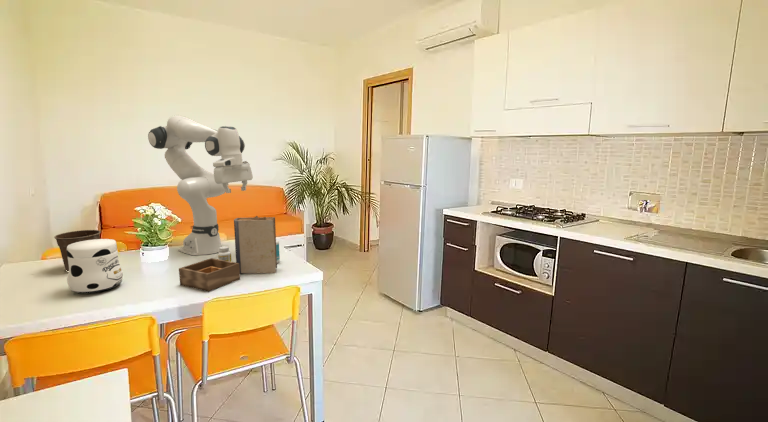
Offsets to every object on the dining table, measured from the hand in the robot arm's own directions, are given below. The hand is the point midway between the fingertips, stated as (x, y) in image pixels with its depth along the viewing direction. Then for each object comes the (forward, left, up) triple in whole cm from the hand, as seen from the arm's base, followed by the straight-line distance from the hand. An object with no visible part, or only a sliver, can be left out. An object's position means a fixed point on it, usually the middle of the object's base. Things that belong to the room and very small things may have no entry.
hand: (236, 191), depth 184 cm
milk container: (-23, -51, -34) cm, 66 cm away
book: (+17, -7, -34) cm, 39 cm away
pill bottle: (+14, +6, -34) cm, 37 cm away
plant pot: (-54, -40, -34) cm, 75 cm away
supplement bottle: (+1, -10, -34) cm, 36 cm away
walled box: (+10, -26, -34) cm, 44 cm away
